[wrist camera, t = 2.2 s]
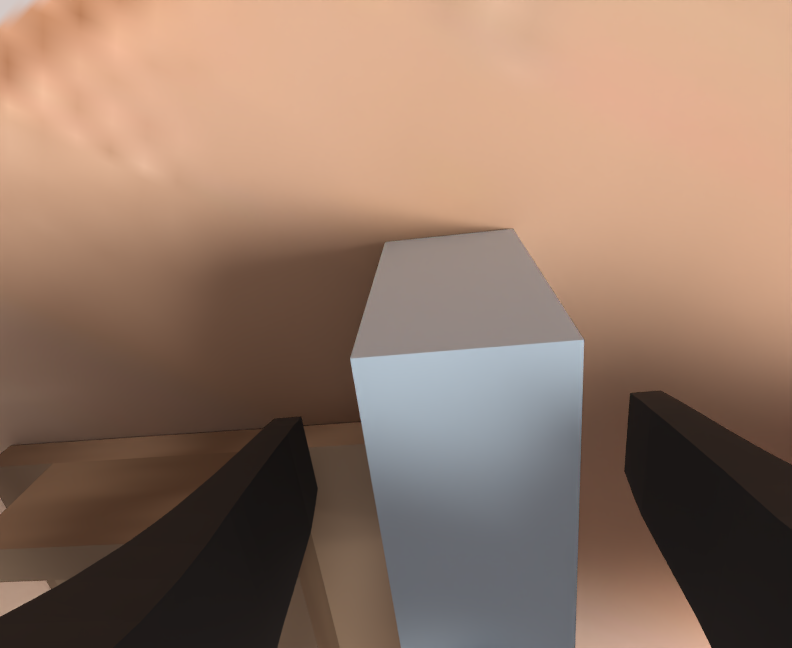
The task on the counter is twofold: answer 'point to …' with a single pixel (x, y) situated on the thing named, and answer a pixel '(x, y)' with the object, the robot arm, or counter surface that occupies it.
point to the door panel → (473, 441)
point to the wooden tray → (168, 486)
